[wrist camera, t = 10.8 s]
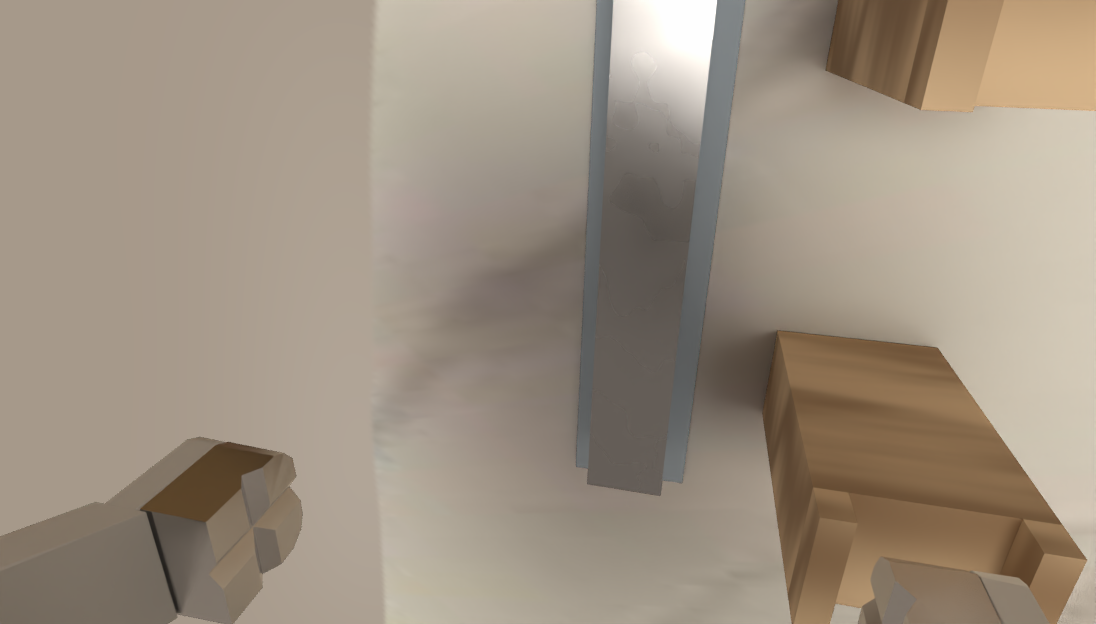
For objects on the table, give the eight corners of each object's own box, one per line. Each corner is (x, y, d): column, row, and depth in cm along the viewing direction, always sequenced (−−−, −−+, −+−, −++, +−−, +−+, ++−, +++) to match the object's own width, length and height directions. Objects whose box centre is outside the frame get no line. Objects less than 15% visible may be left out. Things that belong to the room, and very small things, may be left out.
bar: (665, 445, 29) (660, 495, 26) (599, 435, 30) (587, 484, 27) (731, -137, 20) (736, -165, 17) (634, -135, 21) (622, -162, 18)
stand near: (1019, 76, 21) (1296, 126, 11) (825, 70, 22) (920, 109, 12) (1062, -64, 20) (1431, -153, 10) (850, -64, 21) (983, -142, 11)
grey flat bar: (682, 476, 30) (682, 483, 30) (577, 460, 31) (575, 466, 31) (772, -215, 20) (774, -220, 19) (608, -207, 21) (606, -212, 20)
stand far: (911, 433, 27) (1032, 674, 17) (762, 413, 28) (792, 628, 18) (937, 348, 25) (1087, 560, 15) (777, 330, 26) (820, 517, 16)
